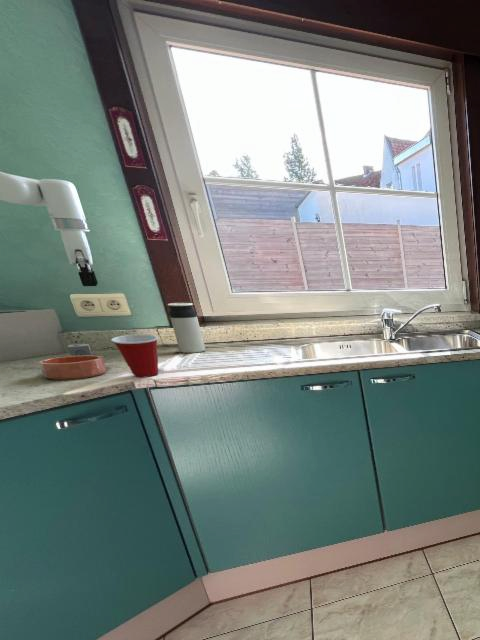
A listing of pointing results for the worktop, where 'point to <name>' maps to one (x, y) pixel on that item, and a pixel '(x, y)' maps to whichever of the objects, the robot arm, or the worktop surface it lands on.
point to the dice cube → (79, 349)
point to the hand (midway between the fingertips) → (90, 285)
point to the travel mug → (186, 328)
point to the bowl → (72, 367)
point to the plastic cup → (139, 353)
